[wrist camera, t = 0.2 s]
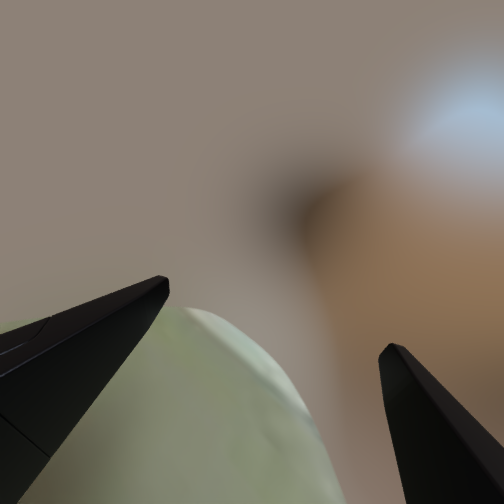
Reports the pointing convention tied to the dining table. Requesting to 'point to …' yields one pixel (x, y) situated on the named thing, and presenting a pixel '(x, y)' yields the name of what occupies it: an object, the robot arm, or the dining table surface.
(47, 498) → the dining table surface
